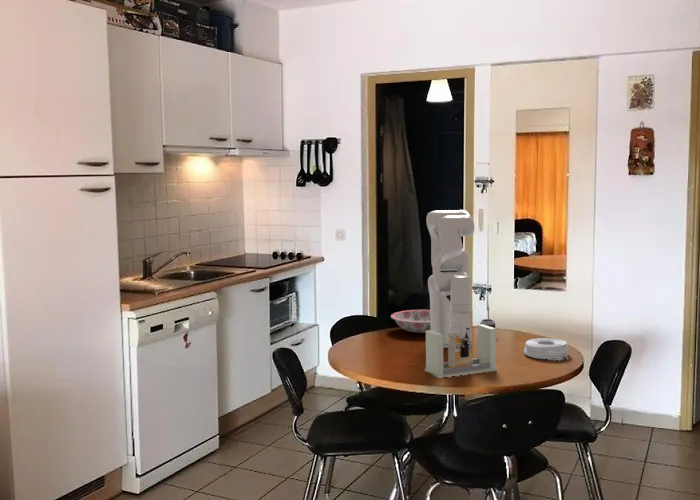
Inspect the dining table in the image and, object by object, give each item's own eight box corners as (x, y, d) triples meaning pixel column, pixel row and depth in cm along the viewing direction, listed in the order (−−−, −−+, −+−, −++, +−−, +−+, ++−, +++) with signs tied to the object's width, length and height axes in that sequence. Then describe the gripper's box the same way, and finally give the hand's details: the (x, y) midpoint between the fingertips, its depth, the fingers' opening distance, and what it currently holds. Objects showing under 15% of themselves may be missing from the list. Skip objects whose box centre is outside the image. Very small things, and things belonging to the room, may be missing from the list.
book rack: (424, 371, 275) (424, 330, 274) (481, 363, 285) (481, 323, 283) (439, 378, 265) (438, 335, 263) (497, 370, 274) (497, 329, 273)
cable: (570, 362, 286) (570, 347, 285) (524, 360, 289) (524, 345, 289) (566, 351, 303) (566, 337, 302) (523, 350, 306) (523, 336, 306)
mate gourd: (486, 340, 325) (486, 306, 324) (475, 336, 332) (475, 304, 330) (499, 337, 329) (499, 305, 327) (487, 334, 336) (487, 302, 334)
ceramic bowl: (387, 326, 358) (387, 310, 357) (446, 324, 360) (446, 308, 359) (394, 339, 329) (394, 322, 329) (458, 337, 331) (458, 320, 330)
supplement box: (454, 370, 271) (454, 336, 270) (447, 367, 275) (447, 333, 274) (473, 367, 274) (473, 333, 273) (466, 364, 279) (466, 331, 277)
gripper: (440, 305, 279) (441, 351, 281) (463, 312, 263) (463, 361, 265) (457, 303, 282) (457, 349, 284) (481, 310, 266) (481, 359, 268)
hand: (460, 354), depth 274 cm, fingers closed on supplement box, 4 cm apart
